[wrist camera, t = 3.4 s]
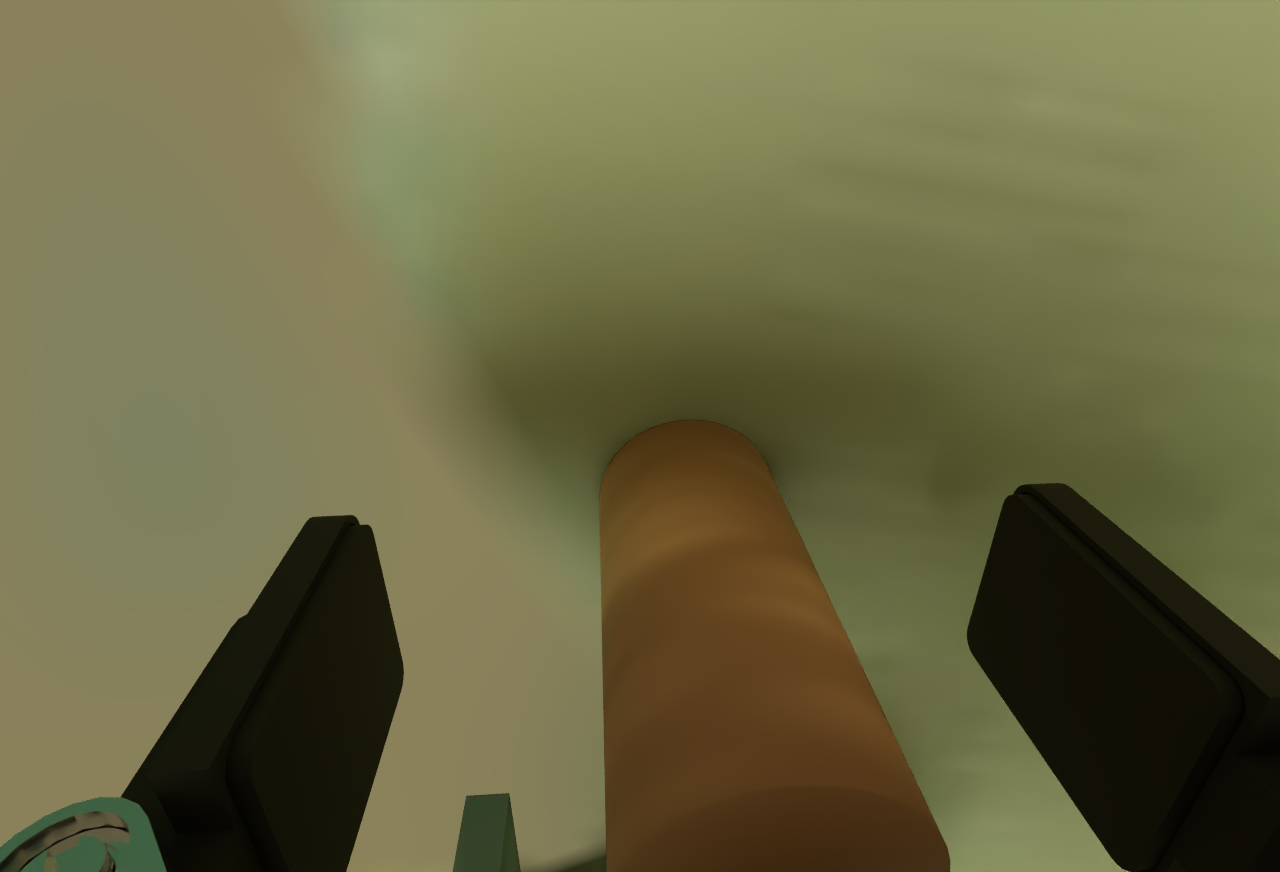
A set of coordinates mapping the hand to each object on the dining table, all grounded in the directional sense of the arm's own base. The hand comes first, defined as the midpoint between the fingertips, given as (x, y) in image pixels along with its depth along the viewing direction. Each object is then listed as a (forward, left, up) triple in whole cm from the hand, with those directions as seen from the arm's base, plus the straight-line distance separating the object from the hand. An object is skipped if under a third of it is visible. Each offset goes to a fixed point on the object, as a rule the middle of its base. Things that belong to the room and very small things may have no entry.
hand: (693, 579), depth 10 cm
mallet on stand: (0, +10, -3) cm, 11 cm away
